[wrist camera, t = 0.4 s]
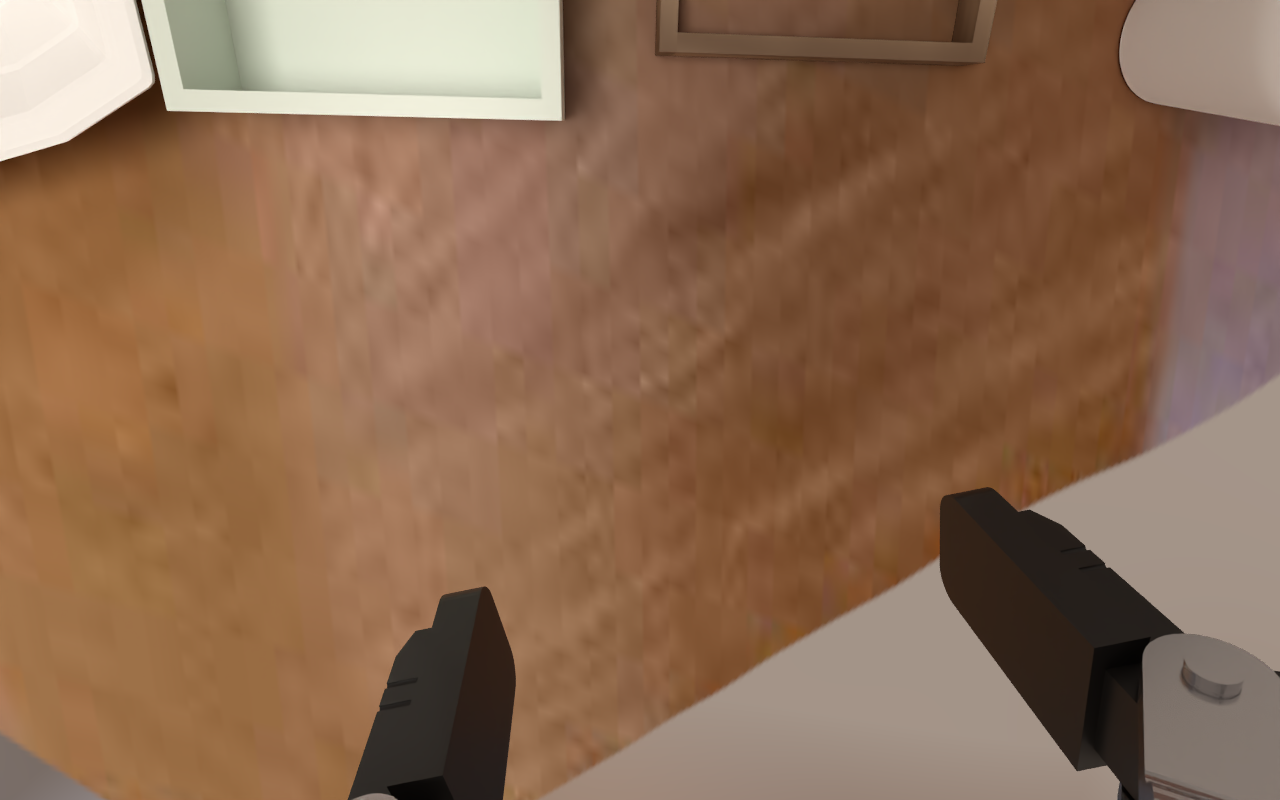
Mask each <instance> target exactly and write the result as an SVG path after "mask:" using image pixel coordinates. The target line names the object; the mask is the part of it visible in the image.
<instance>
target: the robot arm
mask: <svg viewBox="0 0 1280 800" xmlns="http://www.w3.org/2000/svg"><path fill="white" fill-rule="evenodd" d="M940 571H941V577H942V580H943V584H944V587H945V589H946V592H947V594H948V596H949V598H950V600H951V601H952V603H953V604H954V606H955V607H956V608H957V610H958V611H959V612H960V614H961V615H962V616H963V618H964V619H965V620H966V622H967V623H968V624H969V626H970V627H971V629H972V630H973V631H974V633H975V634H976V635H977V636H978V638H979V639H980V641H981V642H982V643H983V645H984V646H985V647H986V649H987V650H988V651H989V653H990V654H991V655H992V657H993V658H994V659H995V661H996V662H997V664H998V665H999V666H1000V668H1001V669H1002V670H1003V672H1004V673H1005V674H1006V676H1007V677H1008V678H1009V680H1010V681H1011V683H1012V684H1013V685H1014V687H1015V688H1016V689H1017V691H1018V692H1019V693H1020V695H1021V696H1022V697H1023V699H1024V700H1025V701H1026V703H1027V704H1028V706H1029V707H1030V708H1031V709H1032V711H1033V712H1034V713H1035V715H1036V716H1037V718H1038V719H1039V720H1040V722H1041V723H1042V725H1043V726H1044V727H1045V729H1046V730H1047V731H1048V733H1049V734H1050V735H1051V737H1052V738H1053V739H1054V741H1055V742H1056V743H1057V745H1058V746H1059V748H1060V749H1061V750H1062V752H1063V753H1064V754H1065V755H1066V757H1067V758H1068V760H1069V761H1070V762H1071V764H1072V765H1073V766H1074V768H1075V769H1076V771H1081V770H1085V769H1091V768H1096V767H1100V766H1106V765H1107V766H1108V767H1109V768H1110V769H1111V771H1112V772H1113V773H1114V774H1115V776H1116V777H1117V778H1118V779H1119V781H1120V783H1119V789H1118V796H1117V800H1280V672H1278V671H1273V670H1272V669H1271V668H1270V667H1269V666H1267V665H1266V664H1265V663H1264V662H1263V661H1261V660H1260V659H1258V658H1257V657H1255V656H1254V655H1252V654H1250V653H1249V652H1247V651H1245V650H1243V649H1241V648H1239V647H1237V646H1234V645H1232V644H1230V643H1227V642H1224V641H1221V640H1218V639H1215V638H1211V637H1207V636H1201V635H1195V634H1185V633H1183V632H1182V631H1181V630H1180V629H1179V628H1178V627H1177V626H1176V625H1174V624H1173V623H1172V622H1171V621H1170V620H1169V619H1168V618H1167V617H1165V616H1164V615H1163V614H1162V613H1161V612H1160V611H1159V610H1157V609H1156V608H1155V607H1154V606H1153V605H1152V604H1151V603H1149V602H1148V601H1147V600H1146V599H1145V598H1144V597H1143V596H1142V595H1140V594H1139V593H1138V592H1137V591H1136V590H1135V589H1134V588H1132V587H1131V586H1130V585H1129V584H1128V583H1127V582H1126V581H1125V580H1123V579H1122V578H1121V577H1120V576H1119V575H1118V574H1117V573H1116V572H1114V571H1113V570H1112V569H1111V568H1106V566H1105V563H1104V562H1103V561H1102V560H1101V559H1100V558H1099V557H1097V556H1096V555H1095V554H1094V553H1093V552H1092V551H1091V550H1086V548H1085V545H1084V544H1083V543H1082V542H1080V541H1079V540H1078V539H1077V538H1076V537H1075V536H1074V535H1072V534H1071V533H1070V532H1069V531H1068V530H1067V529H1066V528H1064V527H1063V526H1062V525H1060V524H1058V523H1056V522H1054V521H1052V520H1050V519H1048V518H1046V517H1044V516H1042V515H1040V514H1038V513H1035V512H1033V511H1031V510H1026V511H1021V512H1018V511H1017V510H1016V509H1015V508H1013V507H1012V506H1011V505H1010V504H1009V503H1008V502H1007V501H1006V500H1005V499H1004V498H1003V497H1002V496H1001V495H1000V494H999V493H997V492H996V491H995V490H994V489H992V488H989V487H986V488H981V489H976V490H971V491H966V492H961V493H956V494H951V495H946V496H944V497H943V498H942V500H941V505H940ZM515 687H516V676H515V665H514V659H513V655H512V651H511V648H510V645H509V642H508V639H507V637H506V634H505V631H504V628H503V625H502V622H501V620H500V617H499V614H498V611H497V608H496V606H495V603H494V600H493V597H492V595H491V592H490V590H489V589H488V588H487V587H480V588H475V589H470V590H465V591H460V592H455V593H450V594H445V595H443V596H442V597H441V599H440V602H439V605H438V608H437V612H436V615H435V619H434V622H433V626H432V628H428V629H423V630H418V631H415V633H414V634H413V635H412V636H411V638H410V639H409V640H408V642H407V643H406V644H405V645H404V647H403V648H402V649H401V651H400V652H399V653H398V655H397V656H396V658H395V661H394V664H393V667H392V670H391V673H390V676H389V679H388V682H387V689H385V691H384V693H383V696H382V699H381V702H380V705H379V707H380V711H379V712H377V714H376V717H375V720H374V723H373V726H372V729H371V732H370V735H369V738H368V741H367V744H366V747H365V750H364V753H363V756H362V759H361V762H360V765H359V768H358V771H357V774H356V777H355V780H354V783H353V786H352V789H351V792H350V795H349V798H348V800H503V793H504V784H505V776H506V767H507V758H508V749H509V741H510V732H511V723H512V714H513V705H514V697H515Z"/></svg>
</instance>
